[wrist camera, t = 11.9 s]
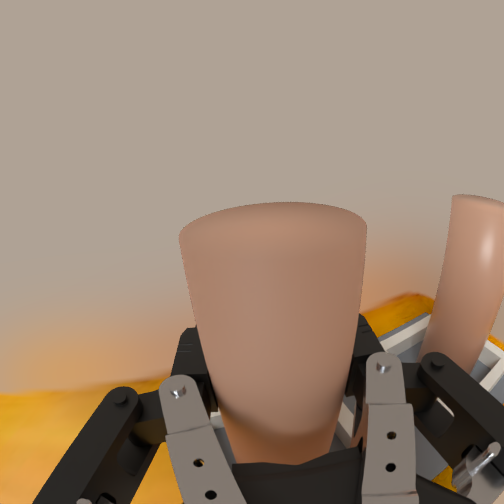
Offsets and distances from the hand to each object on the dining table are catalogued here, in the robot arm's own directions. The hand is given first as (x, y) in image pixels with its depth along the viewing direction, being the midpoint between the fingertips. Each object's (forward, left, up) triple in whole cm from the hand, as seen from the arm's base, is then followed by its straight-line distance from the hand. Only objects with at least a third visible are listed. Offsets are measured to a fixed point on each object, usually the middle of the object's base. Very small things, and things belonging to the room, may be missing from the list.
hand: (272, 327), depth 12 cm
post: (-2, -2, -7) cm, 8 cm away
